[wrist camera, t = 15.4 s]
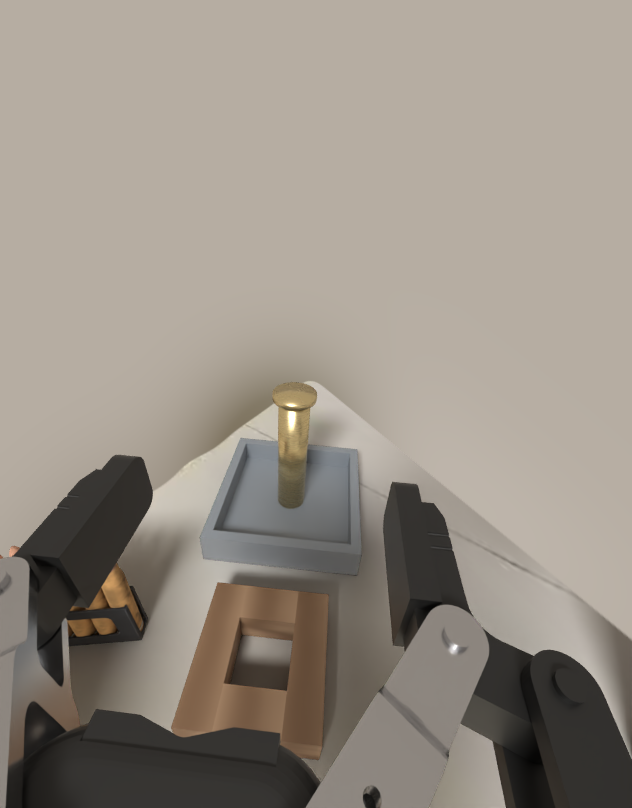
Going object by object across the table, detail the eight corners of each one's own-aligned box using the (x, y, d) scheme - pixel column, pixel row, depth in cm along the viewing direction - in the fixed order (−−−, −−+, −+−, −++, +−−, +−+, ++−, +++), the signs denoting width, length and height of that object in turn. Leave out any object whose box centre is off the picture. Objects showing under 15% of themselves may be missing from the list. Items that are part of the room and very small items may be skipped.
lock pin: (310, 486, 45) (318, 384, 37) (307, 514, 41) (315, 407, 33) (276, 483, 45) (276, 380, 37) (269, 510, 41) (268, 403, 33)
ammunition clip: (3, 651, 29) (-74, 563, 22) (17, 627, 30) (-52, 538, 24) (142, 640, 30) (106, 554, 24) (148, 617, 32) (116, 530, 25)
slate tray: (354, 468, 50) (357, 449, 48) (356, 575, 36) (361, 554, 34) (241, 457, 50) (240, 437, 48) (203, 558, 37) (199, 537, 35)
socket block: (325, 612, 33) (328, 594, 31) (319, 759, 25) (322, 746, 23) (220, 600, 33) (217, 582, 32) (177, 742, 25) (171, 727, 23)
